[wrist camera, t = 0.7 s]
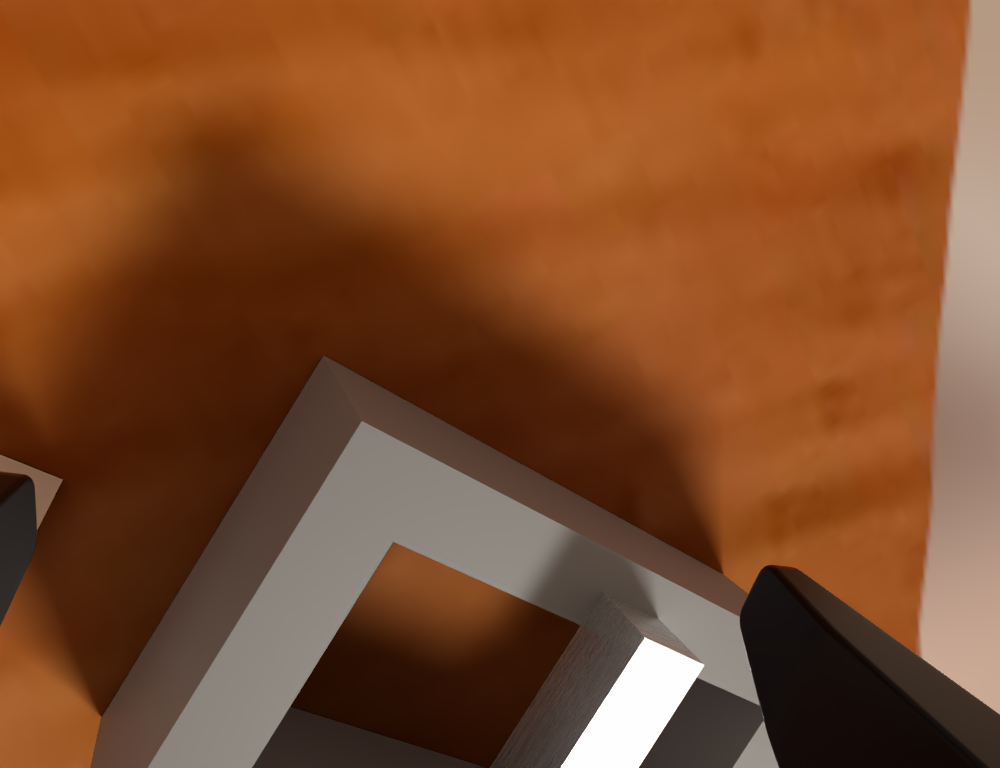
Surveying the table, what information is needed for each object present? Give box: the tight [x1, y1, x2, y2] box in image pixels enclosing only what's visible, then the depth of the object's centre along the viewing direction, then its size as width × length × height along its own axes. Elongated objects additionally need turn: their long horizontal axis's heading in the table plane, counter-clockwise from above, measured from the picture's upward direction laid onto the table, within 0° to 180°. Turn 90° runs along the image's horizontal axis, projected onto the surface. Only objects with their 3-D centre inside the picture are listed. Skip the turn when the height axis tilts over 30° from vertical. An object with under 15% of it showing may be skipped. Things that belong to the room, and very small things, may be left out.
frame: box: [91, 355, 779, 768], centre depth 21 cm, size 12×17×6 cm
